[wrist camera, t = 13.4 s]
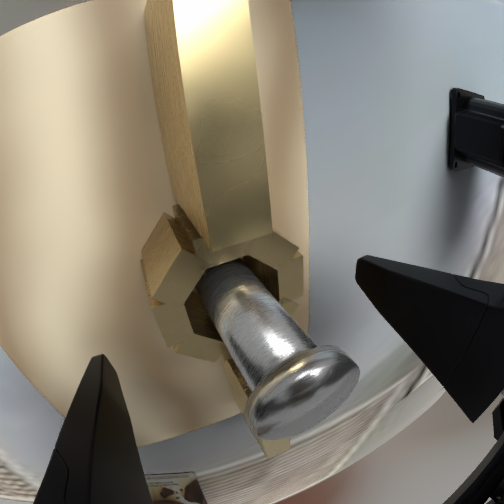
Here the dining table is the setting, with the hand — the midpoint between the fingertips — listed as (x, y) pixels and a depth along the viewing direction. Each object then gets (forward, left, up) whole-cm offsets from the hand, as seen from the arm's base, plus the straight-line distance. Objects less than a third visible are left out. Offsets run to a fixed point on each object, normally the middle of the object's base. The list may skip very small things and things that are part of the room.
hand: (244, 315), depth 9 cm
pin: (0, 0, -4) cm, 4 cm away
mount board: (+3, +1, -4) cm, 6 cm away
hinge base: (0, -4, -4) cm, 5 cm away
